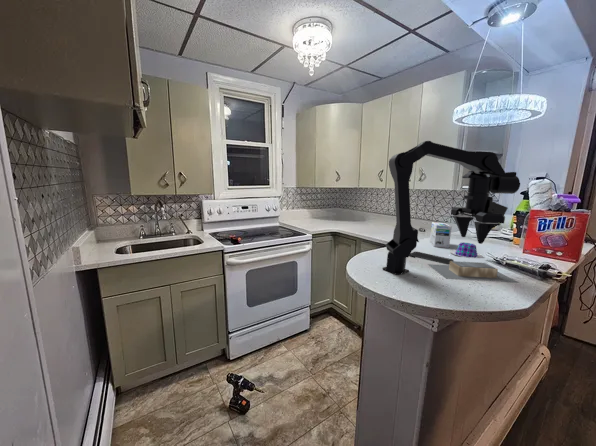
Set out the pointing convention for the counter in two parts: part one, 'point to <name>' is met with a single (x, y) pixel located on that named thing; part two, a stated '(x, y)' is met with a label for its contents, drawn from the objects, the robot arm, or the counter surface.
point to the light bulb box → (440, 234)
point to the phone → (430, 257)
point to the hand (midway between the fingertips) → (471, 240)
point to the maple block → (473, 269)
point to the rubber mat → (450, 275)
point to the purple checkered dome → (466, 250)
